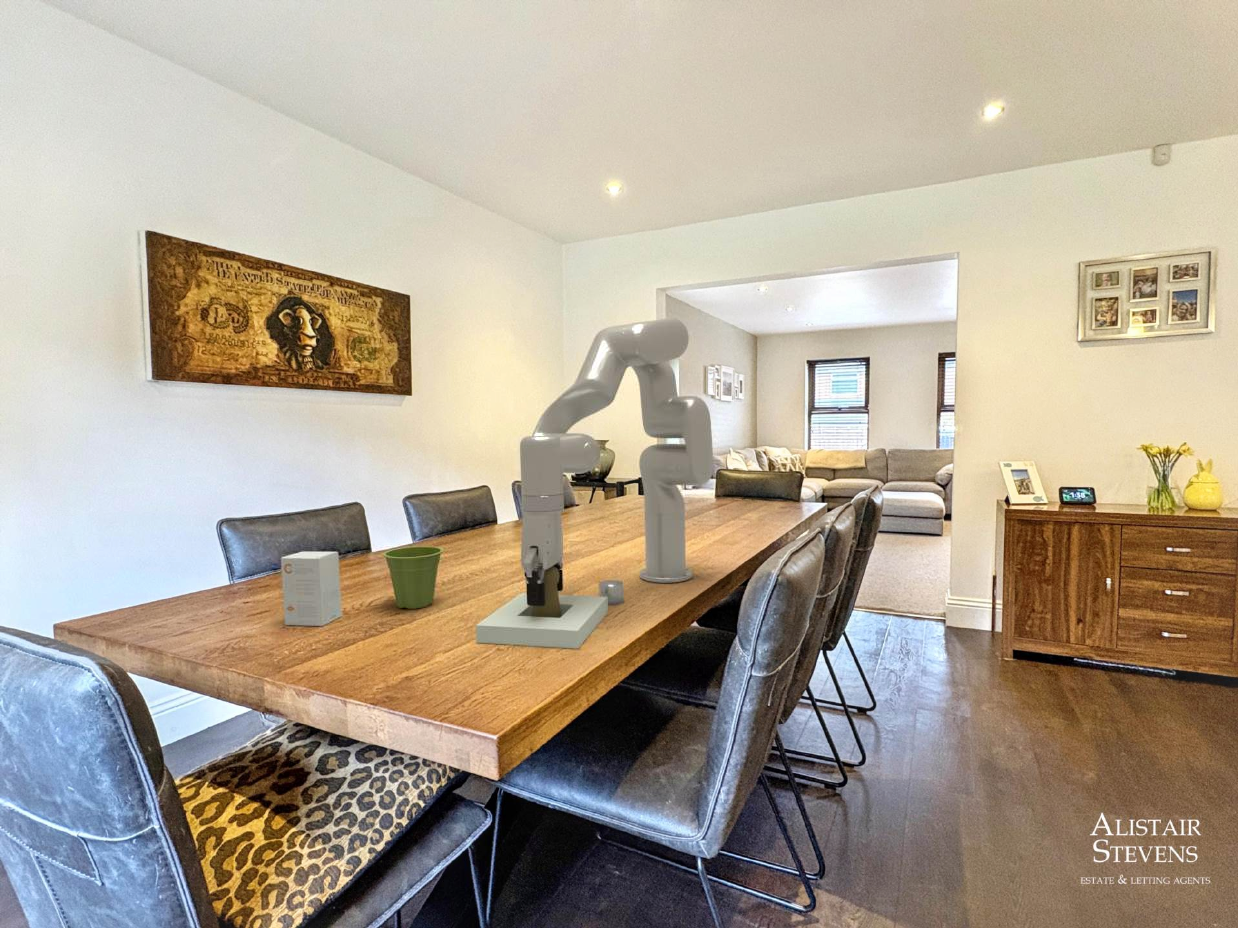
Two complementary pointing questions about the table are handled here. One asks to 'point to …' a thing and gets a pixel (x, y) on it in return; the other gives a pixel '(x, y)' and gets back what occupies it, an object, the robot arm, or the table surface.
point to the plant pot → (413, 574)
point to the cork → (549, 596)
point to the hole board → (543, 623)
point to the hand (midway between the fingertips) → (545, 597)
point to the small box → (311, 588)
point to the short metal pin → (612, 591)
